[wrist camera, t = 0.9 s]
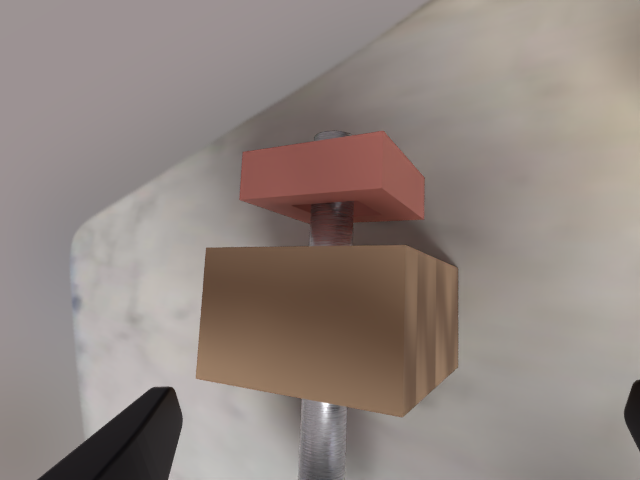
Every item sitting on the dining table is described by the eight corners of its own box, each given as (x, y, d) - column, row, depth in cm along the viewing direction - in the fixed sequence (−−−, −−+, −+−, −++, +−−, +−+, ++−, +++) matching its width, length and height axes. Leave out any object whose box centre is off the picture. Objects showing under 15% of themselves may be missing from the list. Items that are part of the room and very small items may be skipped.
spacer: (424, 219, 19) (381, 188, 13) (310, 224, 22) (239, 199, 16) (424, 177, 19) (383, 130, 14) (312, 187, 22) (242, 152, 16)
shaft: (384, 630, 16) (341, 725, 12) (295, 591, 18) (237, 663, 14) (393, 148, 18) (361, 112, 15) (315, 158, 20) (269, 128, 17)
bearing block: (458, 366, 20) (402, 417, 12) (318, 350, 24) (195, 378, 15) (458, 268, 21) (405, 244, 12) (321, 266, 25) (206, 247, 16)
